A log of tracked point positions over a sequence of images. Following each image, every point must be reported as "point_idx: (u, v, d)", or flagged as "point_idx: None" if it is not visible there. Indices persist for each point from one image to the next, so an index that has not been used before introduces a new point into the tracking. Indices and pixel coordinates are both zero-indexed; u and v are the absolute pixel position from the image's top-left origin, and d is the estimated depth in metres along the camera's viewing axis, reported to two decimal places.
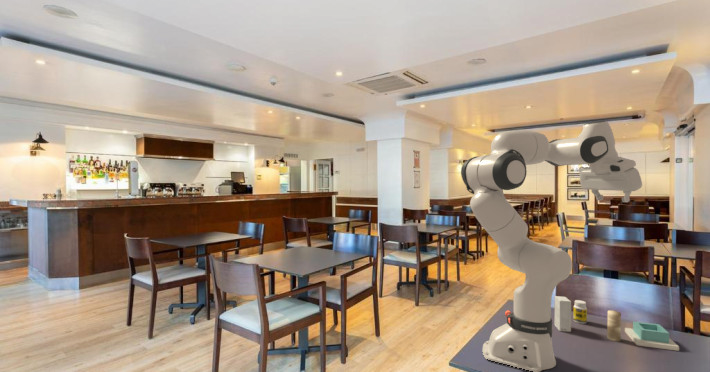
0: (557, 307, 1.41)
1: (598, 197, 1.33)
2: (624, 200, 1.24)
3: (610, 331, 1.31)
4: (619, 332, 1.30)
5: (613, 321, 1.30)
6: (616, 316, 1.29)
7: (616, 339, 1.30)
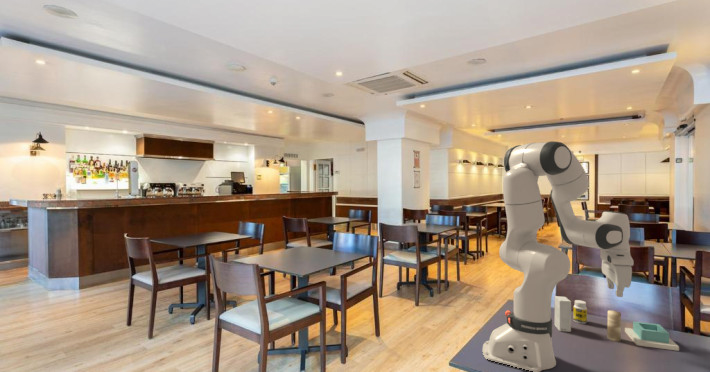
0: (557, 307, 1.41)
1: (608, 284, 1.36)
2: (616, 293, 1.27)
3: (610, 331, 1.31)
4: (619, 332, 1.30)
5: (613, 321, 1.30)
6: (616, 316, 1.29)
7: (616, 339, 1.30)
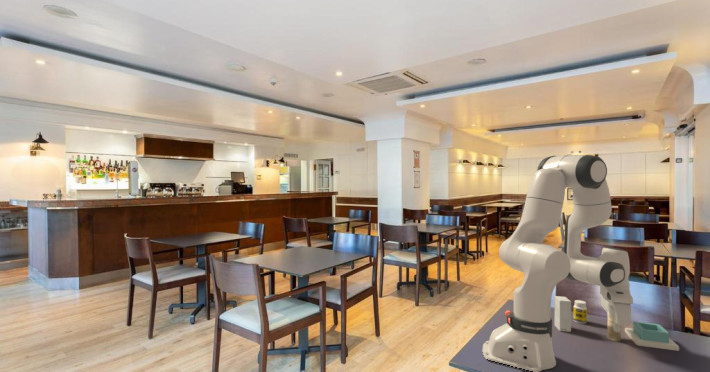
0: (557, 307, 1.41)
1: None
2: (613, 328, 1.29)
3: (610, 331, 1.31)
4: (619, 332, 1.30)
5: (613, 321, 1.30)
6: None
7: (616, 339, 1.30)
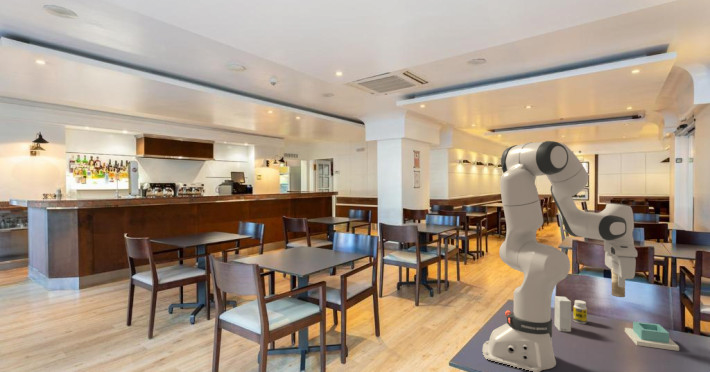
0: (557, 307, 1.41)
1: None
2: (617, 284, 1.29)
3: (615, 287, 1.30)
4: (623, 288, 1.29)
5: (617, 277, 1.30)
6: None
7: (620, 295, 1.29)
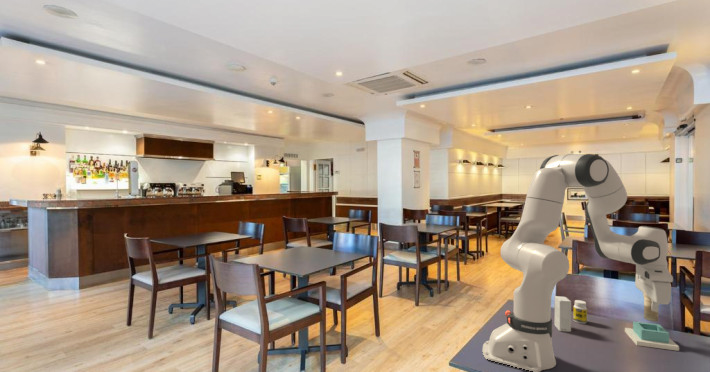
0: (557, 307, 1.41)
1: None
2: (651, 308, 1.28)
3: (648, 310, 1.29)
4: (657, 312, 1.28)
5: (650, 301, 1.28)
6: None
7: (654, 319, 1.28)
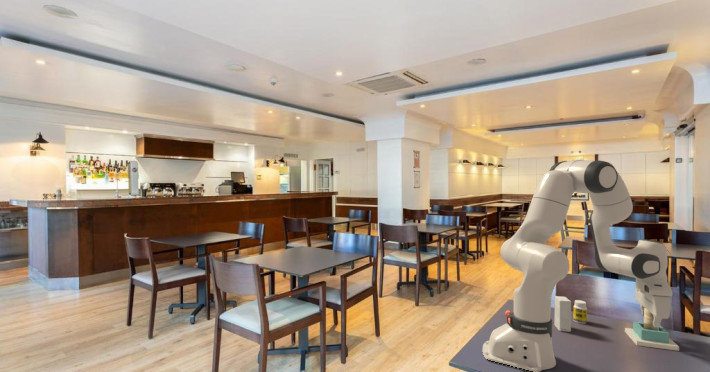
0: (557, 307, 1.41)
1: (642, 313, 1.34)
2: (653, 324, 1.26)
3: (647, 328, 1.29)
4: (656, 330, 1.28)
5: (650, 318, 1.28)
6: None
7: None
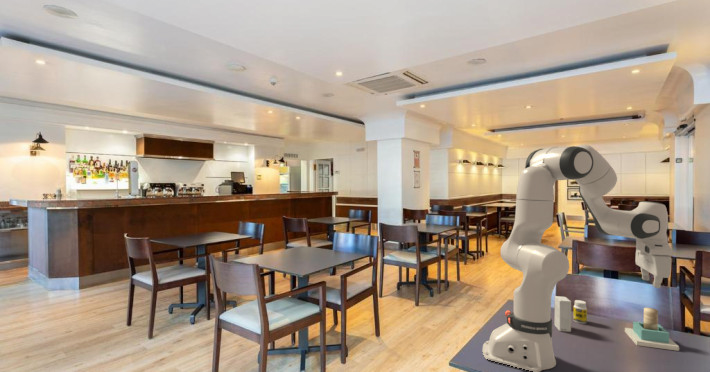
0: (557, 307, 1.41)
1: (643, 276, 1.34)
2: (653, 284, 1.25)
3: (647, 328, 1.29)
4: (656, 329, 1.28)
5: (650, 318, 1.28)
6: (654, 314, 1.28)
7: None
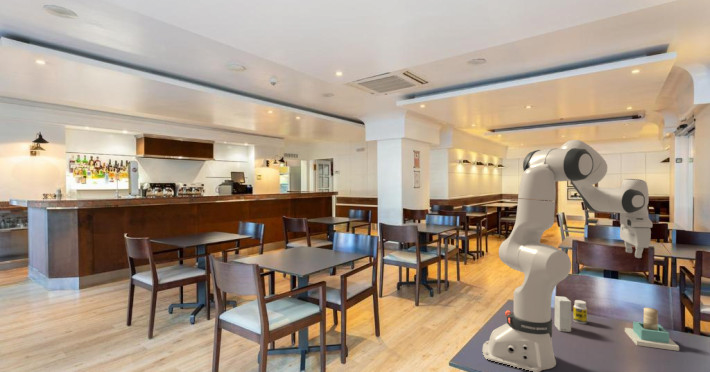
0: (557, 307, 1.41)
1: (626, 249, 1.45)
2: (635, 255, 1.36)
3: (647, 328, 1.29)
4: (656, 329, 1.28)
5: (650, 318, 1.28)
6: (653, 314, 1.28)
7: None
